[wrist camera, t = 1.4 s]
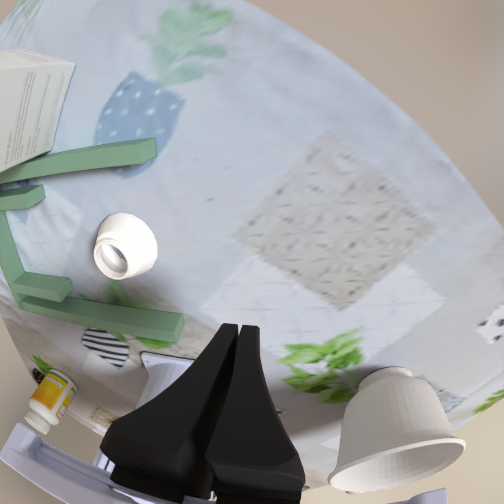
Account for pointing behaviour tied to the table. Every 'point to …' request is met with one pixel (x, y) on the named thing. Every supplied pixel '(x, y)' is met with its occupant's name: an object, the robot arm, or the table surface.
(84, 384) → the table surface
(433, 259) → the table surface
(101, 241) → the white jar
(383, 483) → the teacup
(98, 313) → the green frame
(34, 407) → the supplement bottle
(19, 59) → the supplement box
